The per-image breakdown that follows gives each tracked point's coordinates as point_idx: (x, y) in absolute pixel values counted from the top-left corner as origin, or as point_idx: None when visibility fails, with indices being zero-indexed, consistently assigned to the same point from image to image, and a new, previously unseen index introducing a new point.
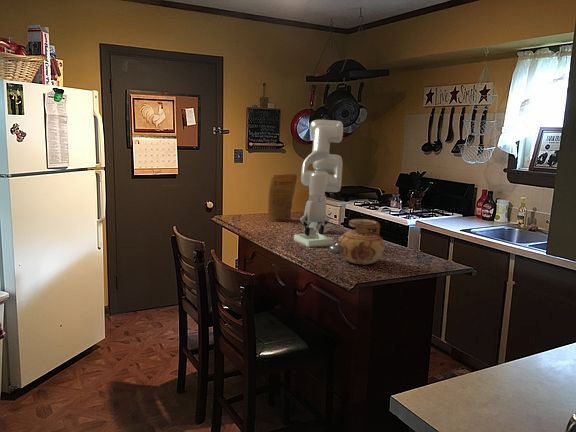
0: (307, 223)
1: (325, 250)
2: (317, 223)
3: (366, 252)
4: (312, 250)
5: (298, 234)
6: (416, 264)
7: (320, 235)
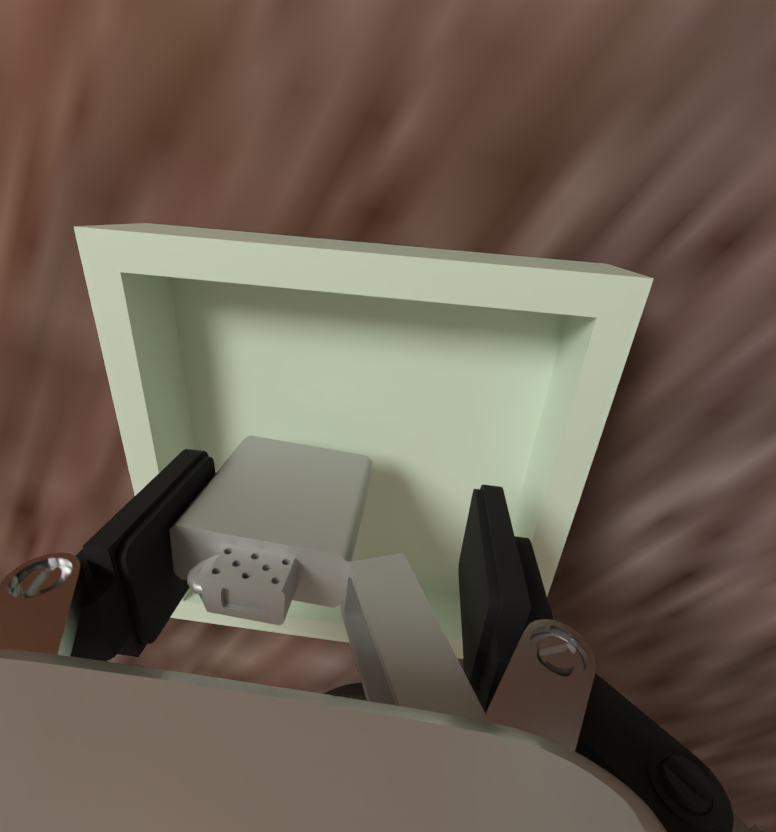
0: (63, 650)
1: (300, 679)
2: (395, 692)
3: None
4: (186, 643)
5: (159, 253)
6: None
7: (564, 410)
